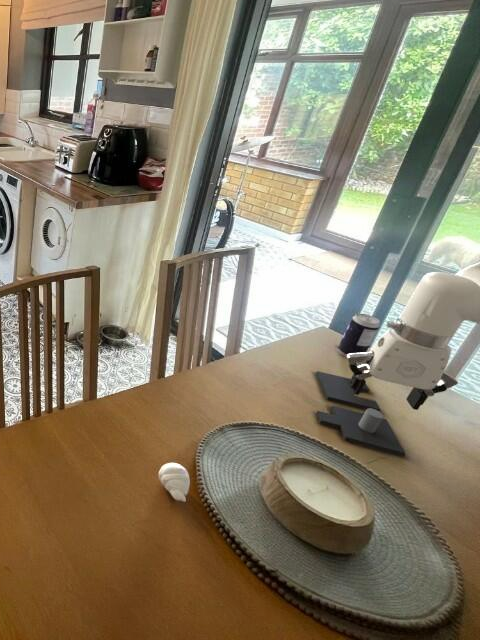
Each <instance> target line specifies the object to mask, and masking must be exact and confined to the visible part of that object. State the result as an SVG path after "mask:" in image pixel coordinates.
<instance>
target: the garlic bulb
mask: <svg viewBox="0 0 480 640" xmlns="http://www.w3.org/2000/svg"><path fill="white" fill-rule="evenodd" d="M158 480H159V482H160V483H161V485H162V486H163V487H164V488H165V490H166V491H167V492H168V493H170V495H171V497H172V498H173V499H174V500H176V501H179V502H180V501H181V502H182V503H186V501H187V498H186V496H187V495H188V494H189V490H190V485H191V479H190V474H189V471H188V470H187V469H186V468H185V467H184V466H182V465H181V464H180V463H177V462H167V463H165V464H163V465H162V466H161V467H160V469H159V471H158Z"/></svg>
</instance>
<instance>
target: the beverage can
mask: <svg viewBox="0 0 480 640" xmlns="http://www.w3.org/2000/svg"><path fill="white" fill-rule="evenodd" d="M380 323H381V322H380V319H378V318H377V317H375V316H373V315H370V314H366V313H356V314H355V315H354V316H352V317H351V319H350V321H349V322H348V325H347V328H346V330H345V332H344V334H343V335H342V337H341V340H340V341H339V343H338V346H337V348H338V350H339V352H340V353H341V354H342V355H344V356H346V355H347V354H355V353H366V352H368V349H370V346H371V344H372V342H373V340H374V339H375V337H376V335H377V333H378V331H379V329H380Z"/></svg>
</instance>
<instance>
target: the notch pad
mask: <svg viewBox="0 0 480 640" xmlns="http://www.w3.org/2000/svg"><path fill="white" fill-rule="evenodd" d="M315 375H316V378H317V380H318V383H319V385H320V387H321V390H322V392H323V394H324V396H325V399H326V400H327V401H330V402H335V403H338V404H343V405H347V406H351V407H354V408H358V409H363V410H367V409H368V408H371V409H375V410H377V411H379V412H381V407H380V405H379V404H378V403H377V401H376V400H373V399H370V398H365V397H361V396H358V395H355V394H354V393H353V391H352V389H351V388H350V387H349V381H350V380H351V378H349V377H346V376H345V377H344V376H341V375H336V374H332V373H327V372H323V371H318V370H317V371H316V372H315ZM361 392H363V393H369V392H370V388H369V387H368V384H367V383H365V385H364V387H363V388H362V390H361Z"/></svg>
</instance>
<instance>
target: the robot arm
mask: <svg viewBox="0 0 480 640" xmlns="http://www.w3.org/2000/svg"><path fill="white" fill-rule="evenodd" d="M465 321H468V322H472V323H476V324H479V325H480V262H477V263H475V264H471V265H469V266H467V267H465V268H462V269H461V270H459V271H457V273H455V274H454V273H450V272H441V271H433V272H428V273H426V274H424V275H423V277H422V278H421V279H420V281H419V282H418V284H417V285H416V288H415V290H414V291H413V293H412V294H411V296H410V298H409V300H408V302H407V303H406V305H405V307H404V309H403V310H402V312H401V314H400V316H399V317H397V319H396V320H395V321H391V320H388V321H387V322H386V327H387V328H388V329H387V330H386V331H385V332H384V333H383V334H382V335H381V336H380V337H379V338H378V339H377V340H376V342H375V343H374V344H373V345H372V347H371V349H370V350H369V351H367V352H366V353H355V354H347V355H345V359H346V362H347V366H348V367H349V369H350V371H351V372H352V376H351V378H350V379H351V380H350V381H349V387H350V388H351V389H352V391H353V393H354V395H355V396H358V395H360V394H361V392H362V391H361V390H362V388H363V387H364V385H365V383H366V382H367V381H366V379H369V378H373V377H374V378H375V379H377V380H380V381H384V382H388V383H393V384H397V385H401V386H404V387H405V386H406V387H409V388H412V389H411V391H410V392H409V394H408V396H406V401H407V403H408V404H409V406H410V407H411V409H413V410H415V411H418V410H419V409H420V407H421V406H423V405H424V403H425V402H426V400H427V399H428V397H434V396H435V394H439V393H443V392H446V391H447V390H448V389H450V388H453V387H454V386H457V385H458V384H459V381H457V379H456V378H455V377H454V376H452V375H451V374H449V373H448V372H446V371H445V370H446V368H447V366H448V363H449V361H450V357H451V353H452V347H451V346H450V345H449V344H450V342H451V340H452V339H453V337H454V336H455V334H456V333H457V331H458V330H459V329H460V327H461V325H462V324H463V323H464V322H465ZM359 362H363V363H362V364H361V365H358V364H357V363H359ZM366 384H367V383H366Z"/></svg>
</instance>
